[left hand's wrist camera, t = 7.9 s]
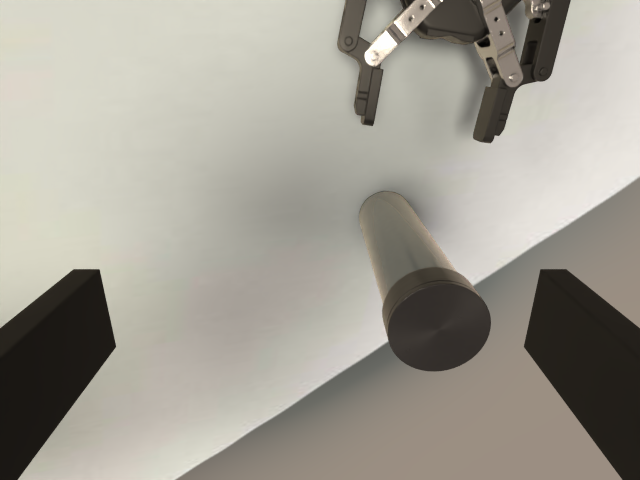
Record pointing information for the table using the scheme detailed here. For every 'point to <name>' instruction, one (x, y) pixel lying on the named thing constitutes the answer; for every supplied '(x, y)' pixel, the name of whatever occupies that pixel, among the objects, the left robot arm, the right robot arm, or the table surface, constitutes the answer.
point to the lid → (435, 319)
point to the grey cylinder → (397, 240)
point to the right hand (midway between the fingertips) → (424, 132)
